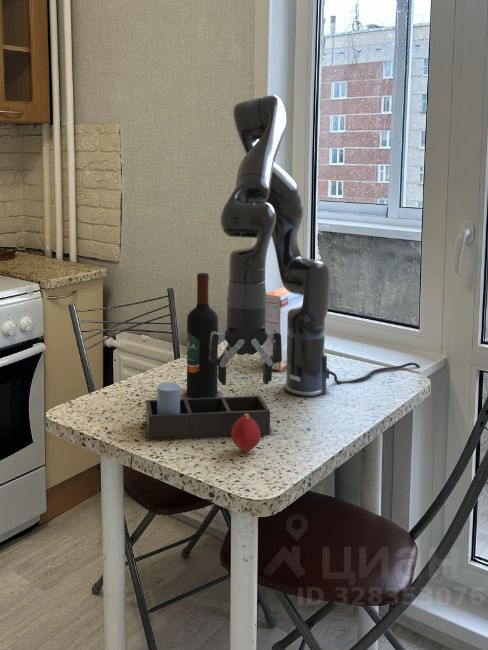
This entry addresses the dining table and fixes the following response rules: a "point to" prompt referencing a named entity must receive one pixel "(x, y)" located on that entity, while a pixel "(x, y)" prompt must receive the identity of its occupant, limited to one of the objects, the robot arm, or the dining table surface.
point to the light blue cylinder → (168, 398)
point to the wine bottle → (201, 345)
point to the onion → (245, 433)
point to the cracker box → (279, 320)
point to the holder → (206, 417)
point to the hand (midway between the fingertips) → (244, 383)
